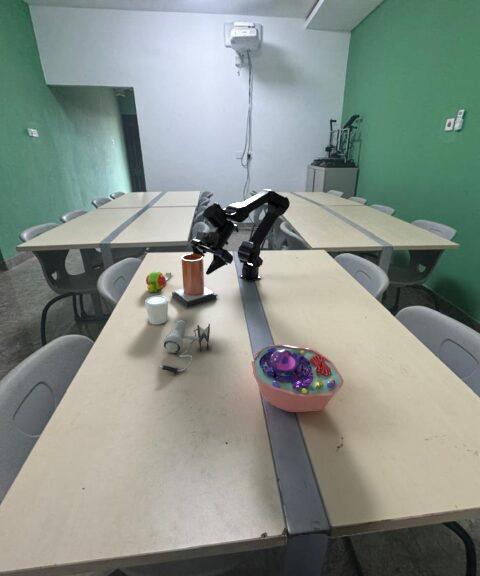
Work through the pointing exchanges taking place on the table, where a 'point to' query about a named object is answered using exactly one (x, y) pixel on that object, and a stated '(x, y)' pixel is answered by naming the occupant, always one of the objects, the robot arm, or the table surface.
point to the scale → (193, 297)
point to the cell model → (295, 378)
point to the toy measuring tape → (156, 280)
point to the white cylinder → (157, 309)
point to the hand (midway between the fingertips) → (198, 270)
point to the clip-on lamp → (175, 341)
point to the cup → (193, 274)
